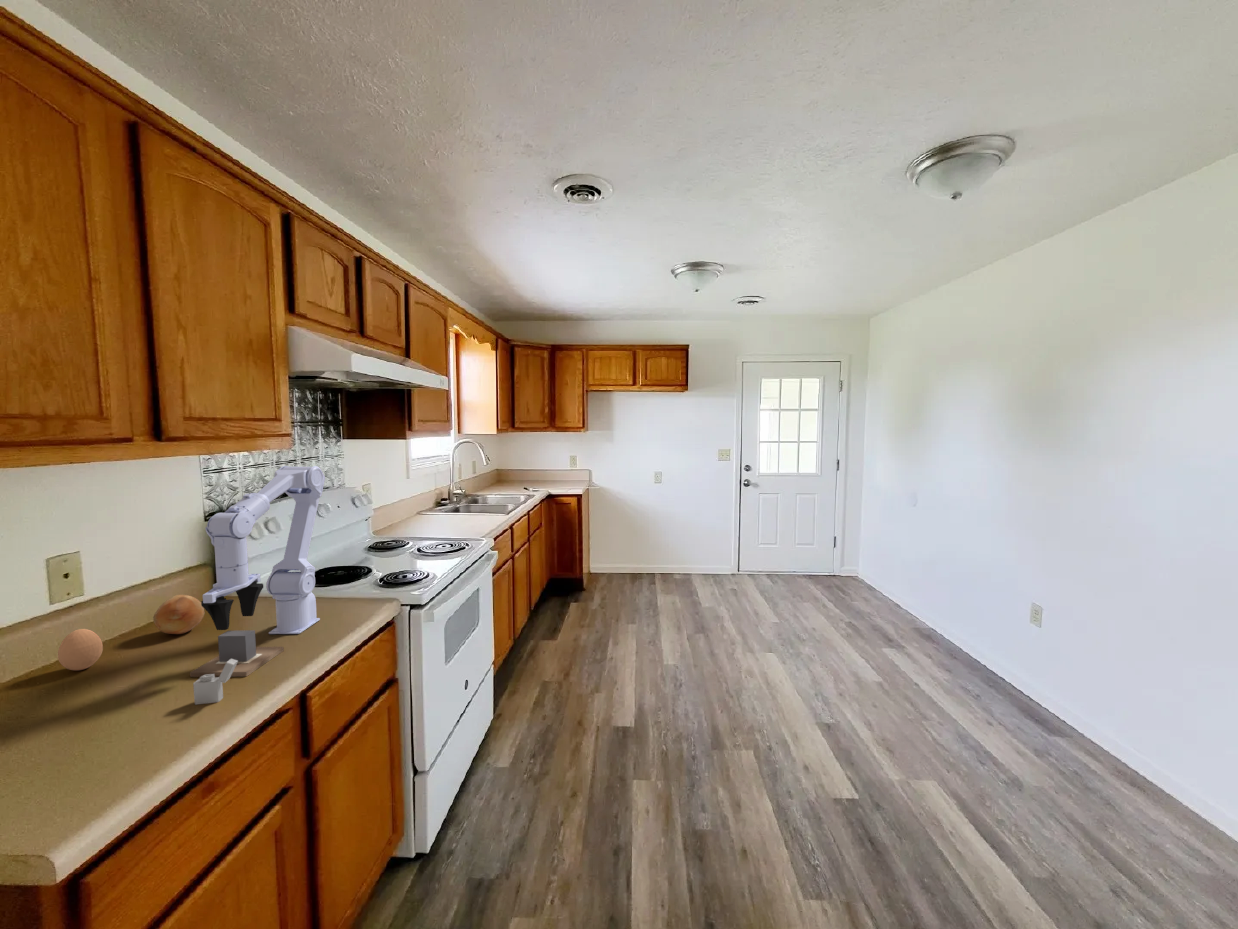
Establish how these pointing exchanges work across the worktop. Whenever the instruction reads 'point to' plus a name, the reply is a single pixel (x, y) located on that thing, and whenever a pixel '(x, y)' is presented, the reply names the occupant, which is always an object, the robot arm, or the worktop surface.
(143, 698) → the worktop surface
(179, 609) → the onion
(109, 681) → the worktop surface
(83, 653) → the egg
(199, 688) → the lighter
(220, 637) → the block
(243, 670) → the board
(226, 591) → the robot arm
